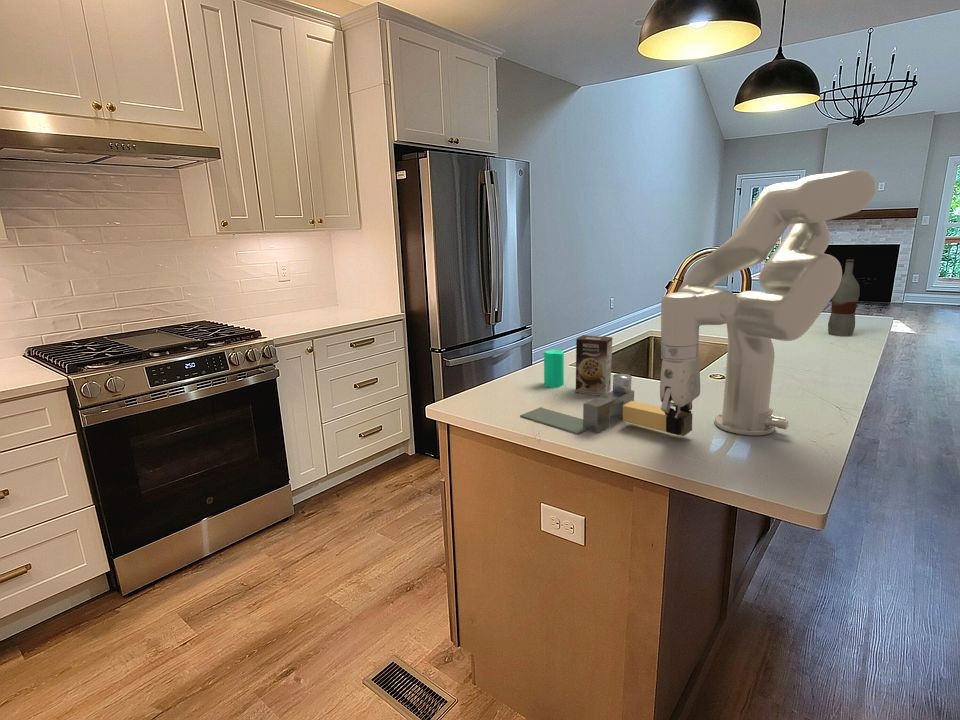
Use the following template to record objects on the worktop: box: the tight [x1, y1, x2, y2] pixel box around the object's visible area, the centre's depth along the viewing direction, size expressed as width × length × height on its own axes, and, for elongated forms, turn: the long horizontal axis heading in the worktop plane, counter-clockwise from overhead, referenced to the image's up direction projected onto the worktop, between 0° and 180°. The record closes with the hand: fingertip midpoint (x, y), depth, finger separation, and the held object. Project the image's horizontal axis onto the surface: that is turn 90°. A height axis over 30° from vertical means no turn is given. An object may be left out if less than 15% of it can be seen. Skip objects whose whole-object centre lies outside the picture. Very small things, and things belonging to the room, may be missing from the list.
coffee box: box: [575, 334, 613, 396], centre depth 149 cm, size 9×6×16 cm
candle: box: [543, 349, 565, 388], centre depth 158 cm, size 6×6×12 cm
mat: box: [520, 407, 588, 435], centre depth 129 cm, size 18×8×1 cm, turn 43°
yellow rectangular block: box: [622, 400, 693, 437], centre depth 119 cm, size 15×4×4 cm, turn 43°
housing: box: [582, 373, 635, 434], centre depth 126 cm, size 4×16×10 cm, turn 134°
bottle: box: [827, 259, 861, 337], centre depth 207 cm, size 9×9×30 cm
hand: (678, 429), depth 115 cm, fingers closed on yellow rectangular block, 4 cm apart
